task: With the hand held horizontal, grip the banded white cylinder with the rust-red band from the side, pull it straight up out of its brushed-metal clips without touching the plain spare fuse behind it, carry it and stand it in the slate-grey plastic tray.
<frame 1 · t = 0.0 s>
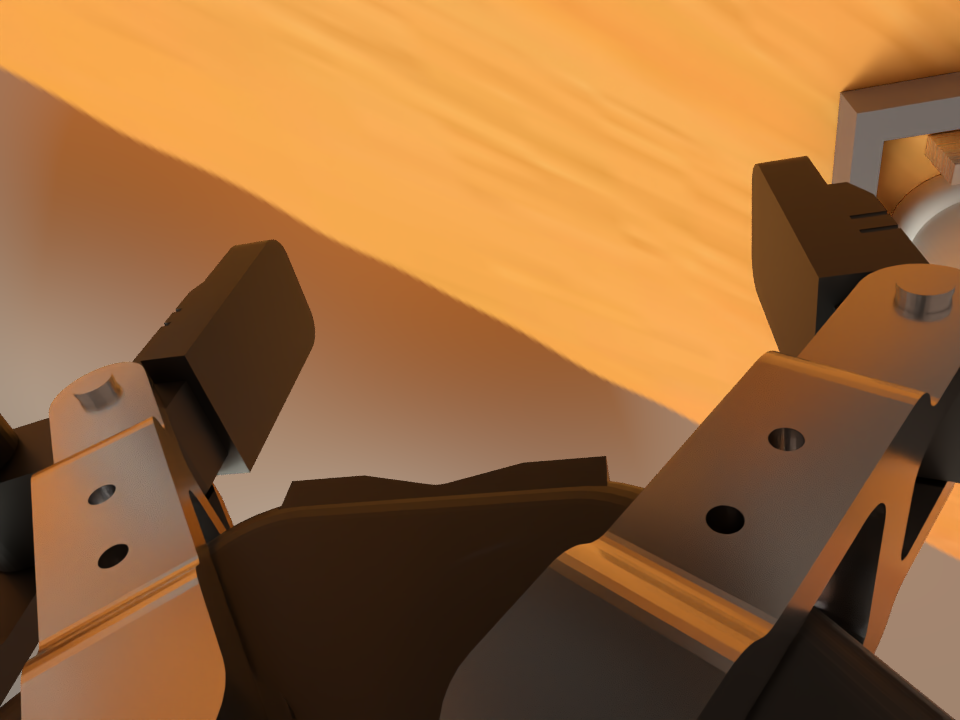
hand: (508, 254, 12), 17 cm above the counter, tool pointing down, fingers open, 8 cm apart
clip holder: (945, 218, 29), on the counter
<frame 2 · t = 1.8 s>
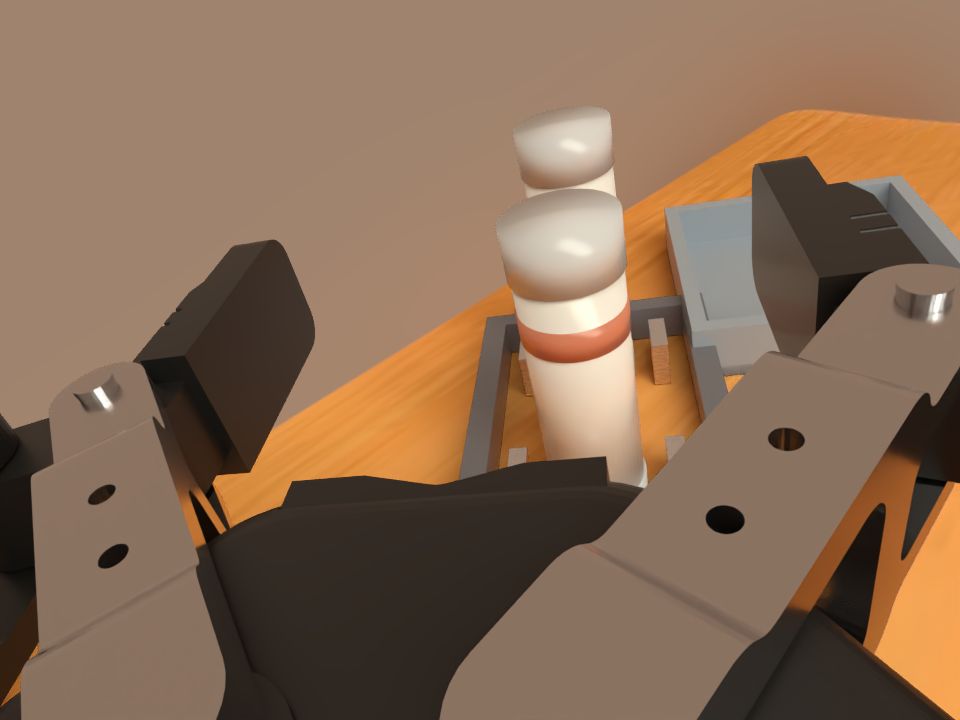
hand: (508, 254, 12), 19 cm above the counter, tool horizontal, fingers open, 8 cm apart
tray: (803, 291, 41), on the counter
clip holder: (601, 501, 32), on the counter
banded white cylinder: (582, 379, 28), in the clip holder
spare fuse: (596, 376, 39), resting in clip holder
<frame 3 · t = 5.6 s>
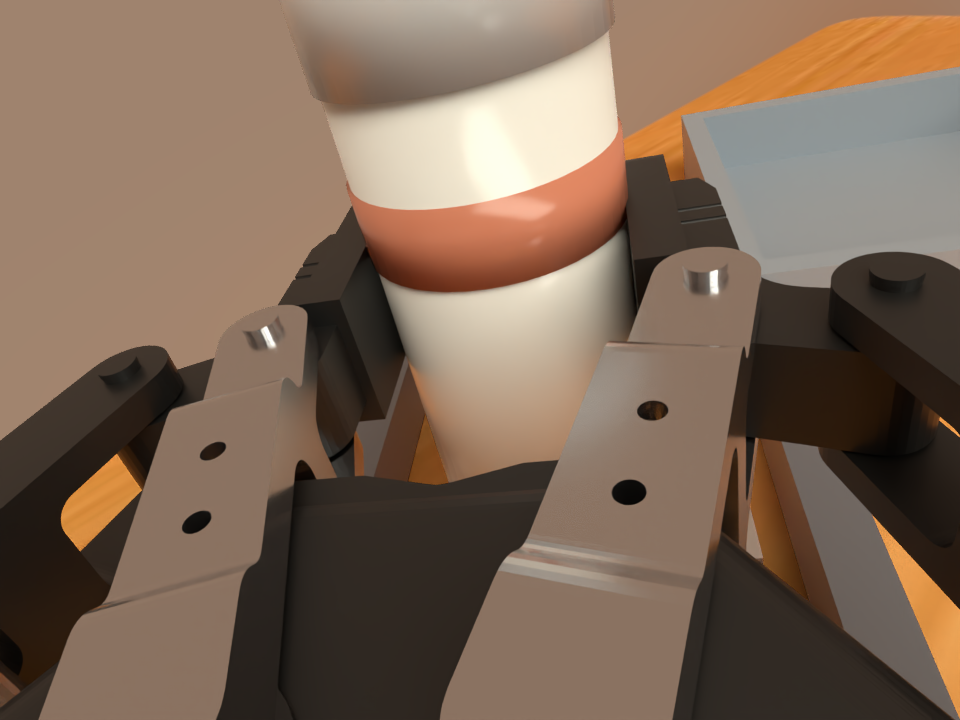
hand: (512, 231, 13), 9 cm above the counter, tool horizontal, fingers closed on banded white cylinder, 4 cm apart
tray: (907, 225, 26), on the counter
clip holder: (577, 593, 17), on the counter
banded white cylinder: (523, 346, 13), in the clip holder, touching gripper
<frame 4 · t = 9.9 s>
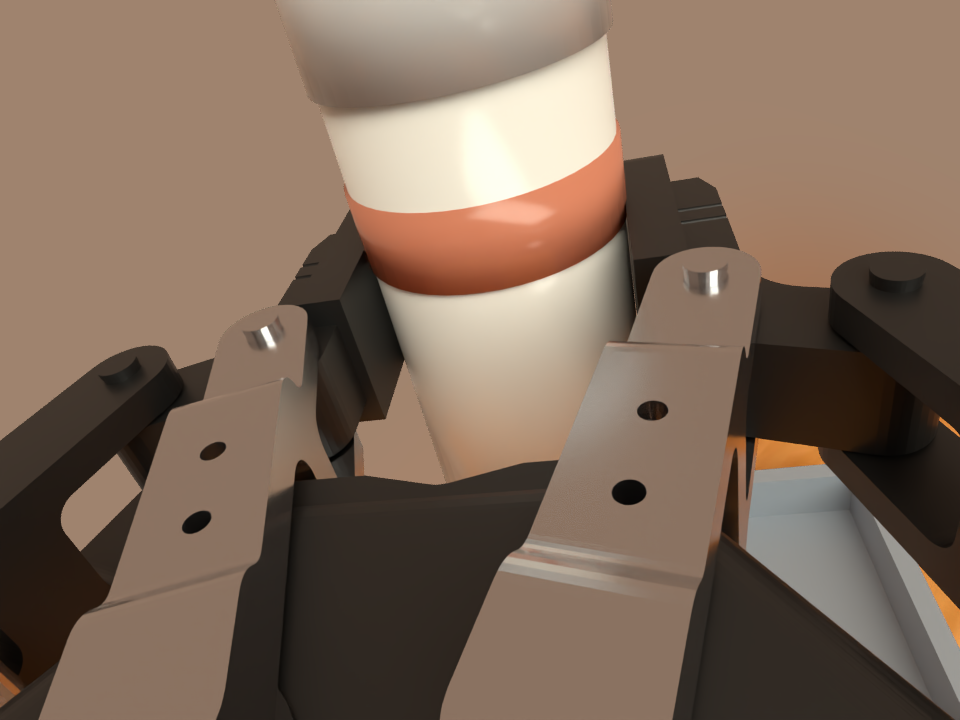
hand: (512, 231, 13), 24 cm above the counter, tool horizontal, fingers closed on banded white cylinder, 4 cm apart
tray: (741, 640, 31), on the counter
banded white cylinder: (522, 349, 13), point 22 cm above the counter, touching gripper
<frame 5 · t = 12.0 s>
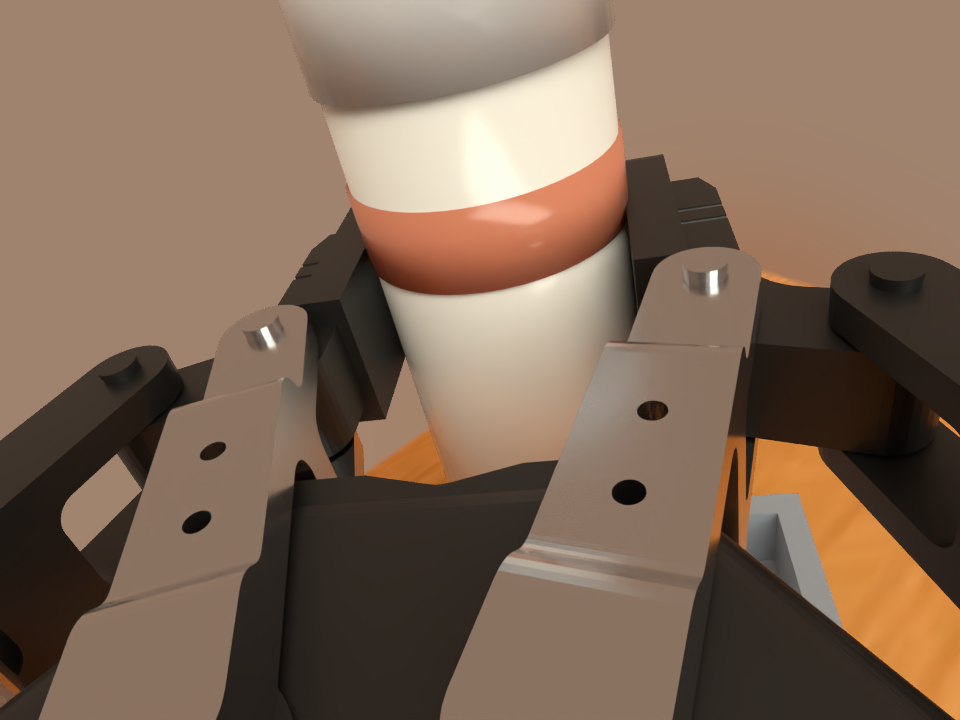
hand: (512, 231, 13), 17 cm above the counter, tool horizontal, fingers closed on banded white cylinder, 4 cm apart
banded white cylinder: (523, 349, 13), point 15 cm above the counter, touching gripper
when the fingers open (10 cm above the counter, at t = 13.9 s): banded white cylinder moves 1 cm, resting on tray.
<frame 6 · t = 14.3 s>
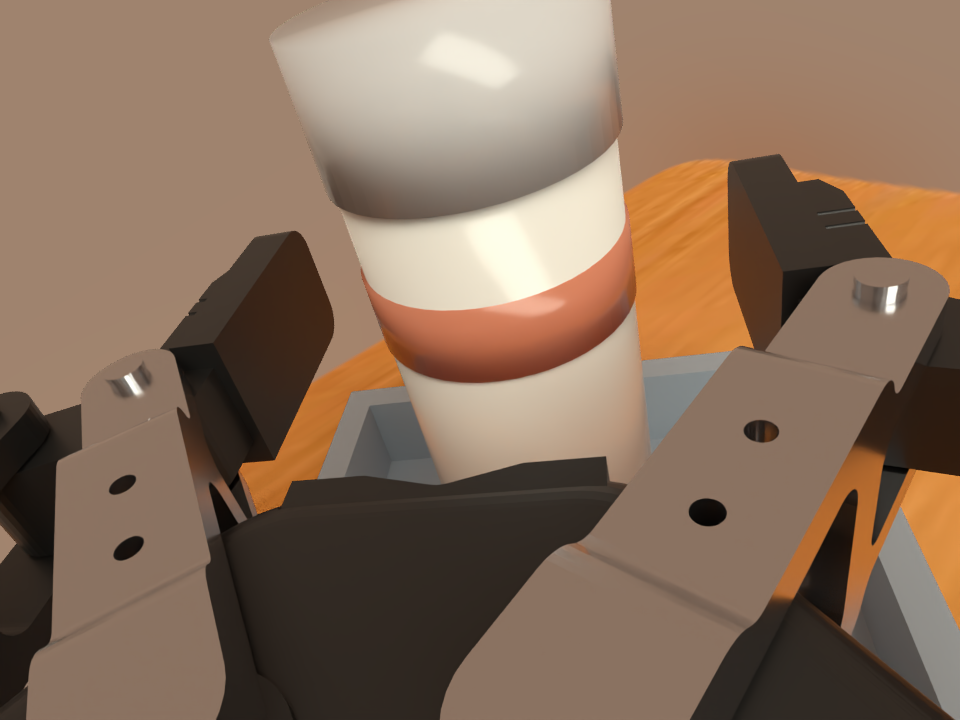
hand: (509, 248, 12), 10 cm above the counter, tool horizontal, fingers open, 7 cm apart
tray: (586, 638, 18), on the counter
banded white cylinder: (532, 410, 13), in the tray, point 8 cm above the counter
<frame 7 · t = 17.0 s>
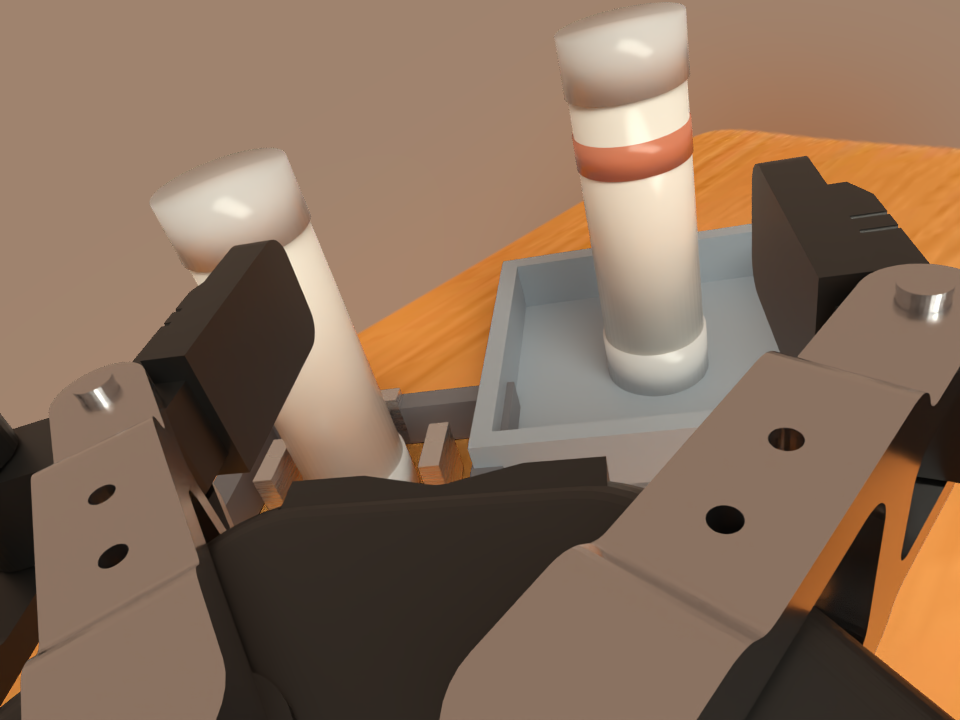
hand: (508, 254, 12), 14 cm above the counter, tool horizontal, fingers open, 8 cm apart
tray: (658, 374, 31), on the counter
clip holder: (301, 711, 22), on the counter
banded white cylinder: (641, 218, 27), in the tray, point 8 cm above the counter
spare fuse: (370, 495, 29), resting in clip holder
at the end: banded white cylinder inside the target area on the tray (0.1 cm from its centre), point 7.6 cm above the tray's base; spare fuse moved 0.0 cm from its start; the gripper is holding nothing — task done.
